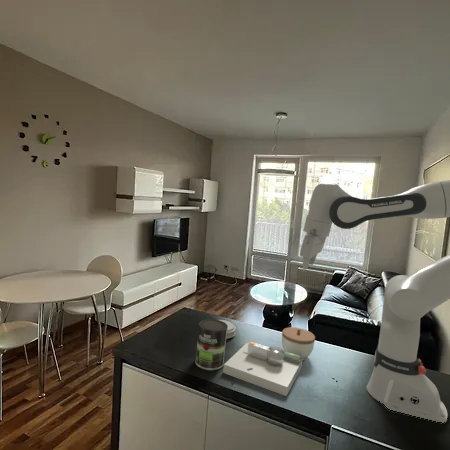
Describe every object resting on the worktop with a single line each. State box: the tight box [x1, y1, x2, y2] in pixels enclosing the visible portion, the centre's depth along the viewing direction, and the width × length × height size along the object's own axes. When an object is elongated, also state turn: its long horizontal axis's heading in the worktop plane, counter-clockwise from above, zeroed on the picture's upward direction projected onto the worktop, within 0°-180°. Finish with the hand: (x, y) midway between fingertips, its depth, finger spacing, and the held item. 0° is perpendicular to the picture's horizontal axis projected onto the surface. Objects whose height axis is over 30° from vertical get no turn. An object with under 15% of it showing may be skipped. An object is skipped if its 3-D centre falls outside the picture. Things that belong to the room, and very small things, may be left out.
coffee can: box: [194, 318, 228, 371], centre depth 112 cm, size 10×10×14 cm
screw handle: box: [247, 341, 285, 366], centre depth 113 cm, size 13×6×4 cm, turn 63°
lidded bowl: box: [281, 326, 316, 361], centre depth 124 cm, size 13×13×11 cm
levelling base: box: [222, 342, 303, 397], centre depth 111 cm, size 22×20×5 cm
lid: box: [218, 319, 237, 340], centre depth 138 cm, size 13×13×5 cm
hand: (307, 266), depth 112 cm, fingers open, 8 cm apart
